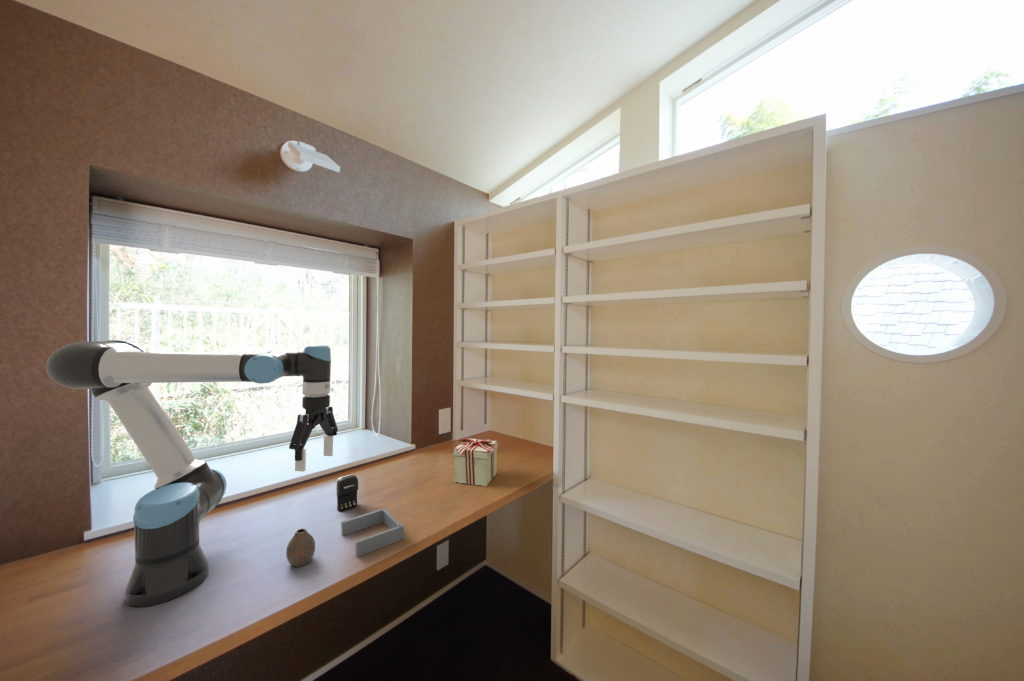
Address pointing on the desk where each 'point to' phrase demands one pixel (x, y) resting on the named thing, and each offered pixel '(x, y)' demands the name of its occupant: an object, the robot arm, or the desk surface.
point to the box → (375, 540)
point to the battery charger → (346, 492)
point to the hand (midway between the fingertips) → (315, 462)
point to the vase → (300, 548)
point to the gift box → (475, 461)
